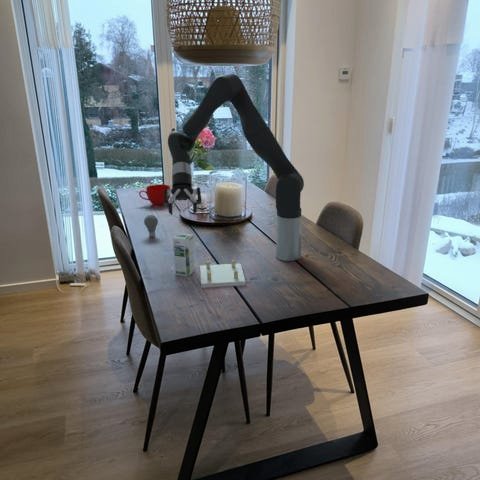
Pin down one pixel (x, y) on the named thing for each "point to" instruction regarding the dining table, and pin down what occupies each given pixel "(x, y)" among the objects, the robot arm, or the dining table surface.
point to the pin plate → (221, 275)
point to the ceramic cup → (156, 194)
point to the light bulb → (151, 224)
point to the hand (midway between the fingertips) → (182, 213)
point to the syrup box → (184, 254)
